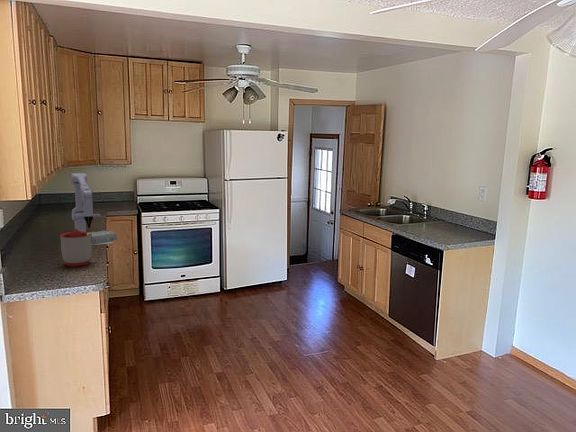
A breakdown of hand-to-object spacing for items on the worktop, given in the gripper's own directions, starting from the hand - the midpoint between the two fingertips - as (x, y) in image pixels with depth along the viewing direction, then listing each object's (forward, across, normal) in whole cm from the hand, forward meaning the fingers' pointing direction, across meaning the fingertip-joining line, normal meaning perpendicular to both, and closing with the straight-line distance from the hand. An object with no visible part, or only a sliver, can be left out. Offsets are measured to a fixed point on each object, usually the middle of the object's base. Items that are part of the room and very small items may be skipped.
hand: (89, 227), depth 304 cm
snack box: (+5, +1, 0) cm, 5 cm away
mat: (+8, 0, -9) cm, 12 cm away
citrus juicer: (+9, -10, -61) cm, 62 cm away
